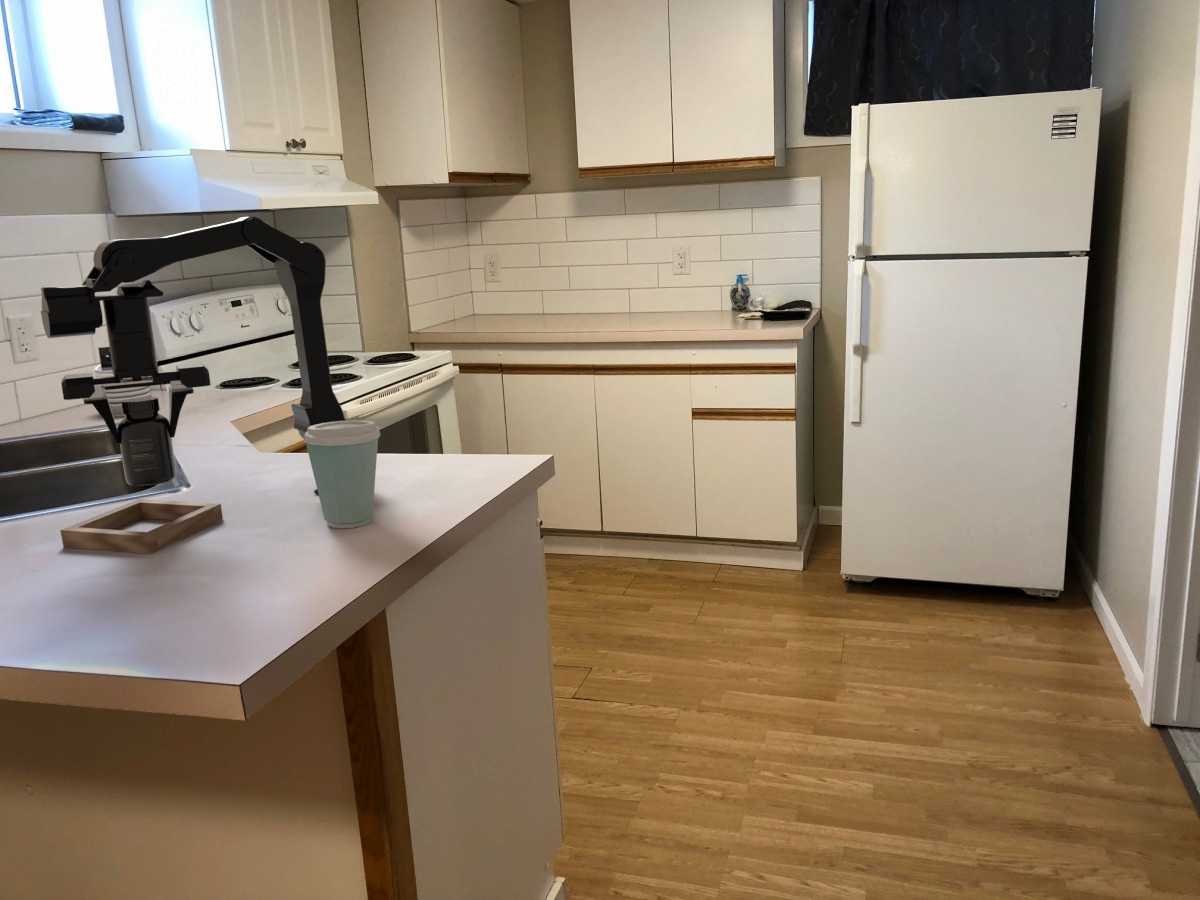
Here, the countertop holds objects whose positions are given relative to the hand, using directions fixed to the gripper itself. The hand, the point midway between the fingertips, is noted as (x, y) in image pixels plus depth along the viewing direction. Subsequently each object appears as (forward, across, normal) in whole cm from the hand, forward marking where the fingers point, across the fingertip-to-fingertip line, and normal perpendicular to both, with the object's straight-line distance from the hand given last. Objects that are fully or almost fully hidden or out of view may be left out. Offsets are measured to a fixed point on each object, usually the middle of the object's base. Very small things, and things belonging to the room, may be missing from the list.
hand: (145, 440), depth 140 cm
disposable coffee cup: (+13, -25, +13) cm, 31 cm away
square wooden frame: (+13, +2, +1) cm, 14 cm away
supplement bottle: (+6, 0, 0) cm, 6 cm away
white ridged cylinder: (+13, 0, -107) cm, 108 cm away
